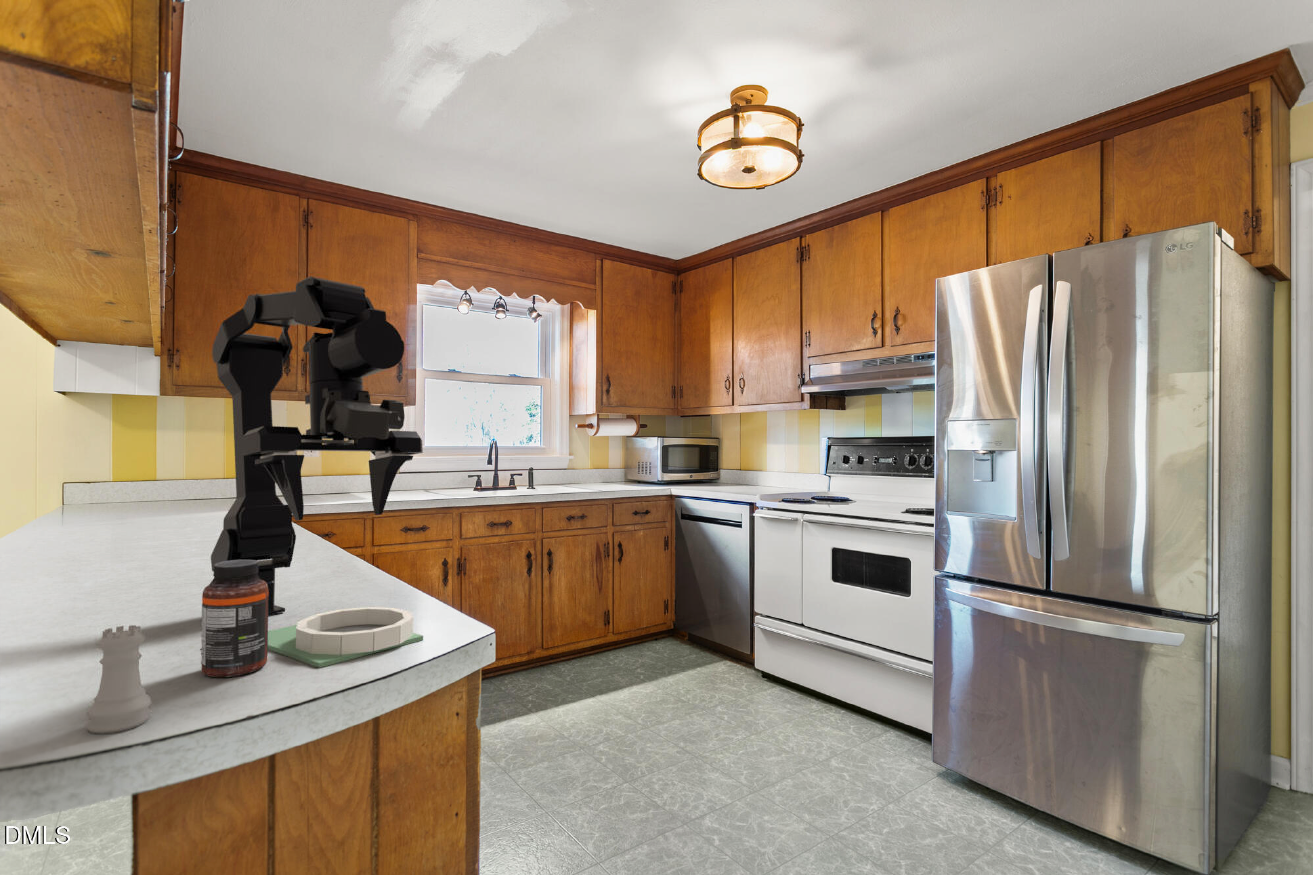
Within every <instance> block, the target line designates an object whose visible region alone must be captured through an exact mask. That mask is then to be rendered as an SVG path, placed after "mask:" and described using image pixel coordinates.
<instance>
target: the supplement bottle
mask: <svg viewBox="0 0 1313 875" xmlns="http://www.w3.org/2000/svg"><path fill="white" fill-rule="evenodd" d="M258 561H259V560H258ZM258 561H256V560H230V561H223V562H219V563H216V564H215V565H214V572H213V575H212V576H213V579H212V580H211V581H210V583H209V584H208V585H207V586H205V587H204V588H203V591H202V595H201V596H202V598H201V600H202V603H201V636H200V637H201V647H200V649H199V651H201V653H200V655H201V660H200V664H201V672H202V674H203V675H204V676H207V677H210V678H221V679H222V678H225V679H226V678H233V677H238V676H242V675H243V676H244V675H247V674H251V673H254V672H256V671H259V670H260V669H262V668H264V667H265V666H266V664H267V662H268V654H269V649H268V631H269V615H268V585H267V583H266V582H265V581H263V580H261V579H260V578H259V576H258V572H259V571H258Z"/></svg>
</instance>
